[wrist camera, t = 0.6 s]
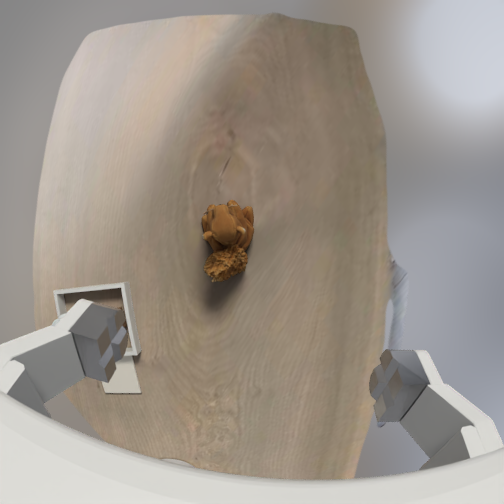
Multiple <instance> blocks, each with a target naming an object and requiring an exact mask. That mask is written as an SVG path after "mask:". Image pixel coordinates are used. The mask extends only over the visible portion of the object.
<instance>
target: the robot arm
mask: <svg viewBox="0 0 504 504" xmlns="http://www.w3.org/2000/svg"><path fill="white" fill-rule="evenodd" d="M124 322H125V314H124V311H122V310H121V309H118V308H114V307H111V306H107V305H103V304H100V303H97V302H92V301H89V300H85V299H80V300H78V301H77V302H76V303H75V305H74V306H73V307H72V308H71V309H70V310H69V311H68V312H67V313H66V314H65V316H64V317H63V318H62V319H61V320H60V321H59V322H58V323H57V325H56V326H55V327H54V326H48V327H46V328H43V329H40V330H38V331H35V332H33V333H30V334H27V335H25V336H22V337H19V338H17V339H14V340H11V341H9V342H6V343H3V344H1V345H0V504H504V445H503V443H502V441H501V438H500V436H499V433H498V431H497V430H496V427H495V425H494V422H493V421H492V419H491V418H490V417H488V416H487V415H486V414H484V413H483V412H482V411H481V410H479V409H478V408H477V407H476V406H474V405H473V404H472V403H471V402H469V401H468V400H467V399H466V398H464V397H463V396H462V395H460V394H459V393H458V392H457V391H455V390H454V389H453V388H452V387H450V386H449V385H448V384H443V382H442V380H441V378H440V375H439V373H438V372H437V369H436V367H435V365H434V363H433V361H432V359H431V357H430V355H429V354H428V352H427V351H425V350H412V351H411V350H389V349H386V350H385V351H384V352H383V353H382V355H381V357H380V361H381V364H380V365H378V366H377V367H375V368H374V370H373V372H372V374H371V377H370V382H369V390H370V394H371V396H372V397H373V398H374V399H375V400H376V402H375V404H374V410H375V414H376V418H377V422H396V421H397V422H398V421H400V424H401V425H402V426H403V427H404V428H405V430H406V431H407V432H408V433H409V434H410V436H411V437H412V438H413V439H414V440H415V441H416V443H417V444H418V445H419V446H420V447H421V449H422V450H423V451H424V452H425V453H426V454H427V456H428V457H429V458H430V459H429V461H427V462H426V463H425V464H424V465H423V466H422V467H421V468H420V469H419V471H413V472H407V473H402V474H394V475H386V476H377V477H367V478H354V479H332V480H300V479H278V478H264V477H254V476H245V475H237V474H230V473H223V472H217V471H211V470H205V469H200V468H195V467H194V466H192V465H191V464H189V463H186V462H184V461H181V460H176V459H157V458H153V457H150V456H146V455H143V454H139V453H136V452H133V451H130V450H127V449H124V448H121V447H118V446H115V445H112V444H109V443H107V442H104V441H101V440H99V439H96V438H93V437H91V436H88V435H86V434H84V433H81V432H79V431H76V430H74V429H72V428H70V427H68V426H65V425H63V424H61V423H59V422H57V421H55V420H53V419H51V416H50V413H49V412H48V410H47V409H46V407H45V405H44V403H45V402H47V401H48V400H50V399H52V398H53V397H55V396H56V395H58V394H60V393H61V392H63V391H64V390H66V389H67V388H69V387H71V386H72V385H74V384H75V383H77V382H79V381H80V380H82V379H83V378H85V376H87V377H90V378H93V379H96V380H99V381H103V382H106V383H109V381H110V379H111V378H112V376H113V374H114V372H115V370H116V364H115V362H117V361H119V360H121V359H122V358H123V356H124V354H125V352H126V348H127V344H128V335H127V331H126V330H125V328H124V327H123V326H122V325H123V324H124Z"/></svg>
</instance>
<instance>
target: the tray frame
mask: <svg viewBox="0 0 504 504" xmlns="http://www.w3.org/2000/svg"><path fill="white" fill-rule="evenodd" d="M112 288H121V290H122V297H123V303H124V309H125V314H126V320H127V325H128V330H129V335H130V340H131V345H132V348H126V352H125V354H124V356H130V355H138V354H139V353H140V352H141V351H142V350H141V346H140V341H139V336H138V331H137V326H136V320H135V315H134V309H133V303H132V297H131V291H130V284H129V282H121V283H113V284H104V285H95V286H86V287H76V288H67V289H59V290H54V298H55V304H56V309H57V315H58V318H59V316H60V315H62V314H64V313H67V310H66V304H65V298H64V293H74V292H84V291H94V290H103V289H112Z"/></svg>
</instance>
